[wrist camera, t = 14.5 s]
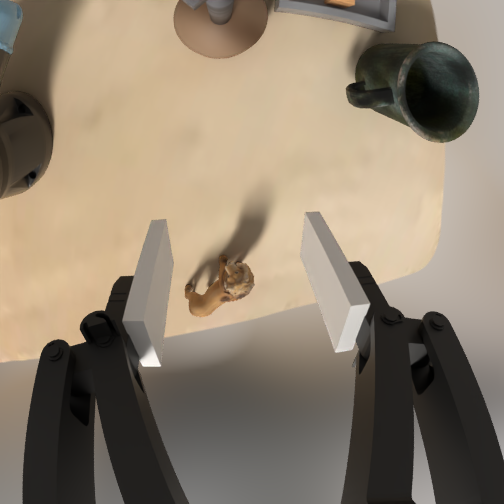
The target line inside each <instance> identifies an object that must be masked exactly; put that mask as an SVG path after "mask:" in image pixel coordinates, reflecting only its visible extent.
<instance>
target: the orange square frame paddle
mask: <svg viewBox="0 0 504 504" xmlns="http://www.w3.org/2000/svg"><path fill="white" fill-rule="evenodd" d="M324 4H327V5H332V6H337V7H341V8H347V7H350V6H353V5H355V0H325V1H324Z"/></svg>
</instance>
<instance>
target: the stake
mask: <svg viewBox="0 0 504 504" xmlns="http://www.w3.org/2000/svg"><path fill="white" fill-rule="evenodd" d="M267 20H268V12H267V7H266V4H265V2H264V0H179V2H178V3H177V6H176V8H175V12H174V27H175V30H176V33H177V35H178V37H179V38H180V40H181V41H182V42H183V43H184V44H185V45H186V46H187V47H188V48H189V49H191V50H193V51H194V52H196V53H199V54H201V55H203V56H206V57H210V58H219V59H220V58H229V57H233V56H236V55H238V54H240V53H242V52H244V51H245V50H247V49H249V48H250V47H251V46H253V45H254V44H255V43H256V42H257V41H258V40H259V39H260V37H261V36H262V34H263V33H264V30H265V28H266V25H267Z"/></svg>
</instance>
